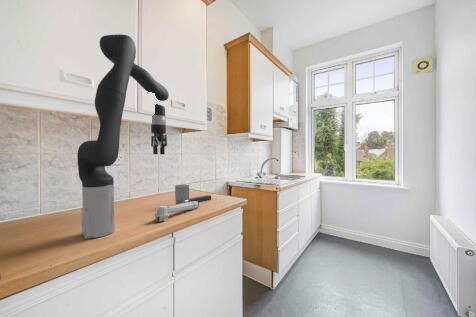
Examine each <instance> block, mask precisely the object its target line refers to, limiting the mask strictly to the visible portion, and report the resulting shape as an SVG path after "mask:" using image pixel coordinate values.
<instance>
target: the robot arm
mask: <svg viewBox="0 0 476 317" xmlns="http://www.w3.org/2000/svg"><path fill="white" fill-rule="evenodd" d="M99 48H100V50H101V53H102V54H103V56H104V57H106V59H107V60H109V61H110V62H111V63H113V65H112V67H111V68H110V70H109V71H108V72H107V73H106V74H105V75H104V77H103V78H102V79H101V80H100V81H99V83H98V85H97V88H96V93H95V96H94V108H95V111H96V114H97V117H98V120H99V131H98V136H97V138H96V140H86V141H83V142H82V143H80V145H79V147H78V149H77V155H76V156H77V166H78V167H77V168H78V177H79V180H80V181H81V191H82V193H81V196H82V207H81V235H82V236H83V239H84V240H87V239H95V238H96V239H97V238H100V237H101V238H102V237H105V236H109V235H110V234H112V233H114V232H115V188H114V184H115V183H114V182H115V181H114V180H115V179H114V177H113V176H112V175H110V173H108V172H107V170H106V167H110V166H112V165H114V164H115V163H116V161H117V159H118V156H119V151H120V138H121V137H120V136H121V126H122V120H123V115H124V108H125V103H126V97H127V91H128V90H127V89H128V86H129V80H130V77H131V78H132V79H133V80H134V81H136V82H137V83H138V84H139V85H140V87H142V89H143V90H145V91H146V92H147V93H148V92H152V93H155V96H156V98H157V99H158V100H160V101H159V102H165V101H167V100H168V99H169V95H170V94H169V91H168V89H167V88H166V87H165V86H164V85H162V84H161V83H160V82H158V81H157V80H155V78H154V77H153V76H152V75H151V73H150V72H148V70H146V69H145V68H143V67H141V66H140V65H139V64H136V63H135V61H136V60H135V59H136V55H137V54H136V53H137V50H136V49H137V48H136V44H135V42H134V39H133V38H132V37H131V36H129V35H127V34H121V33H120V34H107V35H102V36H101V38H100V39H99ZM166 119H167V118H166V108H165V106H164V105H162V104H158V103H157V104H156V105H155V114H154V115H153V116H152V124H151V123H150V133H151V134H153V135H151V137H150V138H151V139H150V140H151V141H150V146H151V147H152V154H153V155H158V152H159V154H160V155H165V152H166V151H165V148H166V147H168V141H167V139H168V138H167V137H168V136H167V133H166V132H167V120H166ZM158 147H159V151H158Z"/></svg>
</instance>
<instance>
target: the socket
mask: <svg viewBox="0 0 476 317" xmlns="http://www.w3.org/2000/svg"><path fill="white" fill-rule="evenodd" d="M174 187H175V188H174V191H175V192H174V193H175V194H174V195H175V196H174V197H175V198H174V200H175V201H176V200H178V201H185V200H189V199H190V185H189V184H185V183H182V184H176V185H174Z"/></svg>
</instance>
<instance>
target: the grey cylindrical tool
mask: <svg viewBox="0 0 476 317" xmlns="http://www.w3.org/2000/svg"><path fill="white" fill-rule="evenodd" d="M199 205H200V202H197V201H190V202H187V203H182V204H177V205H176V204H172V205H161V206H160V205H159V206H158V207H157V211H156V213H154V217H155V218H154V221H155V222H167V221H168V220H169V216H170V214H173V213H178V212H184V211H193V210H196V209H198V208H199V207H200V206H199Z"/></svg>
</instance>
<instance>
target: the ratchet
mask: <svg viewBox="0 0 476 317" xmlns="http://www.w3.org/2000/svg"><path fill="white" fill-rule="evenodd" d="M211 200H212V195H209V194H207V195H201V196H197V197H191V198H190V197H189V200H185V201H178V200H175V205H177V204H182V203H187V202H190V201H197V202H198V203H202V202H207V201H211Z"/></svg>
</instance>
